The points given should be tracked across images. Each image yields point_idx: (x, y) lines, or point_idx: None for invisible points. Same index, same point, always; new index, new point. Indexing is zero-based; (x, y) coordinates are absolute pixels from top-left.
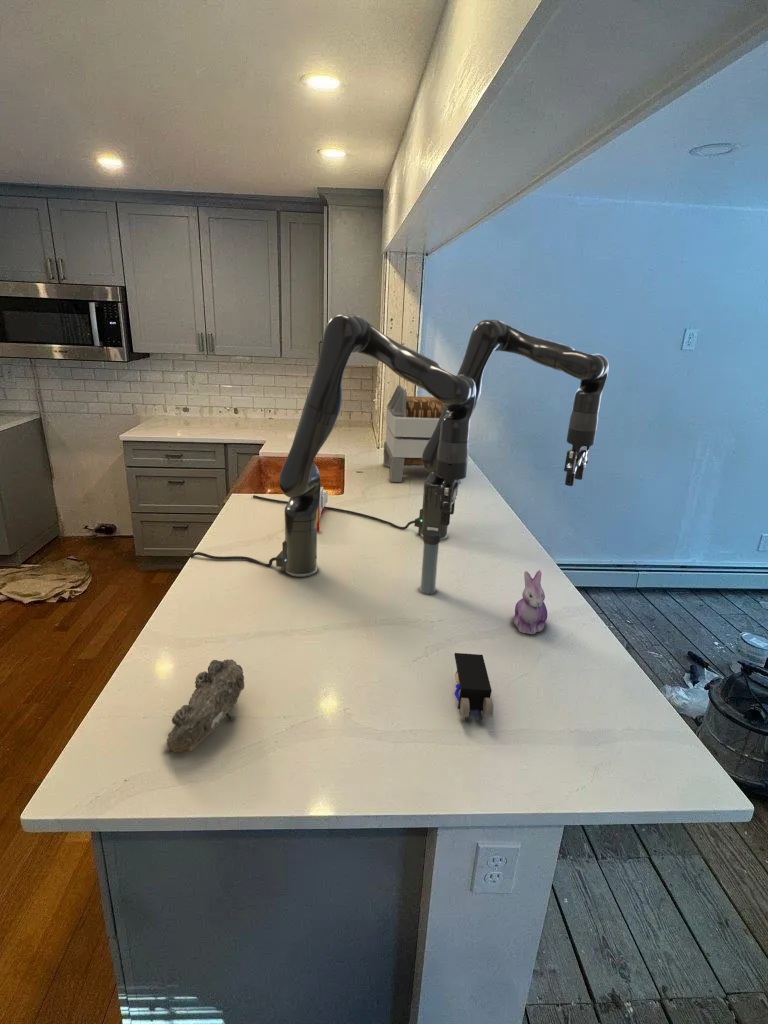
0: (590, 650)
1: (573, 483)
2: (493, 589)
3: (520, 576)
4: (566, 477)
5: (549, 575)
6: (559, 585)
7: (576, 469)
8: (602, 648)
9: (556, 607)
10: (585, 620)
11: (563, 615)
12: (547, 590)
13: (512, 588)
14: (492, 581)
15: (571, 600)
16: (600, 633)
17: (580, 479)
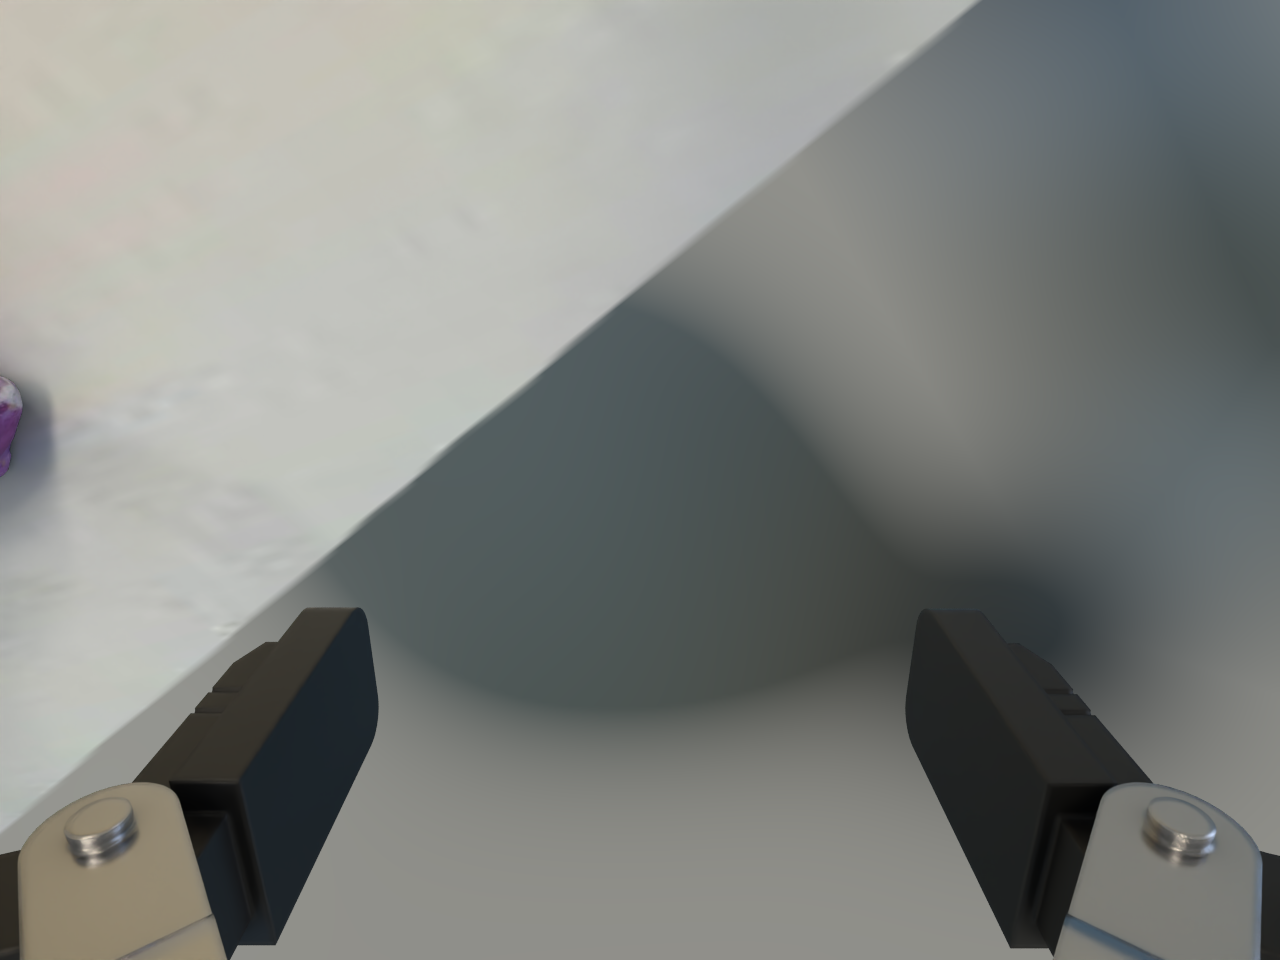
0: (4, 678)
1: (362, 757)
2: (111, 74)
3: (416, 141)
4: (242, 702)
5: (564, 290)
6: (476, 385)
7: (1003, 746)
8: (60, 708)
9: (221, 458)
10: (216, 599)
11: (175, 510)
12: (364, 353)
13: (223, 172)
14: (203, 11)
15: (354, 492)
16: (164, 674)
17: (907, 710)
